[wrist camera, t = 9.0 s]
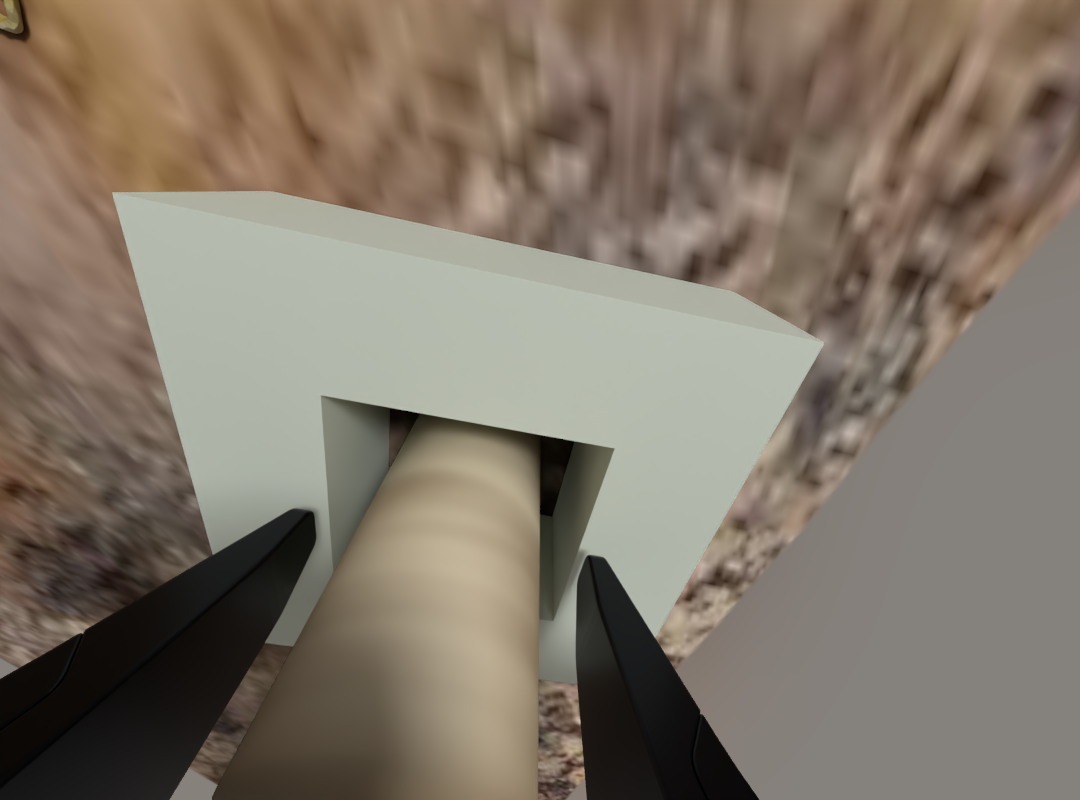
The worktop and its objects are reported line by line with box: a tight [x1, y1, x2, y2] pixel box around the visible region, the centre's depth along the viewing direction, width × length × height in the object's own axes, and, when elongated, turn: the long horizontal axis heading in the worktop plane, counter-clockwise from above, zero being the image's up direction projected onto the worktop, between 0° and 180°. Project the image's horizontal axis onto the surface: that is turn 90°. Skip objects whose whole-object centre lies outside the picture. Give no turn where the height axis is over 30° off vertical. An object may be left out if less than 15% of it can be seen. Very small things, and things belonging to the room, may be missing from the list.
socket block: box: [112, 191, 824, 684], centre depth 11 cm, size 12×12×4 cm
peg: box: [212, 413, 540, 800], centre depth 9 cm, size 4×4×9 cm
